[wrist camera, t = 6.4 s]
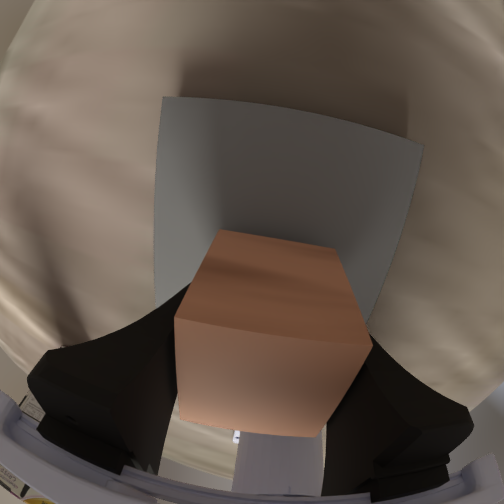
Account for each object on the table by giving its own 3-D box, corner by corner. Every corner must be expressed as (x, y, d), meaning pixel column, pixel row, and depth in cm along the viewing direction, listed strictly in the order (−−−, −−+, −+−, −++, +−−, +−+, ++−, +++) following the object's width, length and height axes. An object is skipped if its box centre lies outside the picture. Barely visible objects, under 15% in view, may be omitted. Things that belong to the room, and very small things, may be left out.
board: (330, 368, 19) (333, 388, 17) (169, 342, 19) (160, 361, 18) (407, 142, 12) (424, 145, 10) (177, 99, 13) (162, 96, 11)
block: (307, 336, 14) (315, 437, 9) (210, 320, 14) (180, 419, 9) (334, 248, 12) (372, 345, 6) (219, 229, 12) (174, 316, 6)
